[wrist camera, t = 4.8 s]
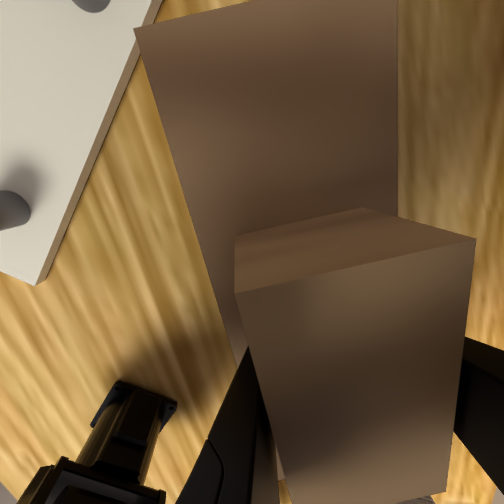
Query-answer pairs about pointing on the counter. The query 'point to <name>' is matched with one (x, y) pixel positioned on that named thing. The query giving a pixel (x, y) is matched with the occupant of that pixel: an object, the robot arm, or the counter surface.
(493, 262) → the counter surface
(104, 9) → the peg stand
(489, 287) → the counter surface
